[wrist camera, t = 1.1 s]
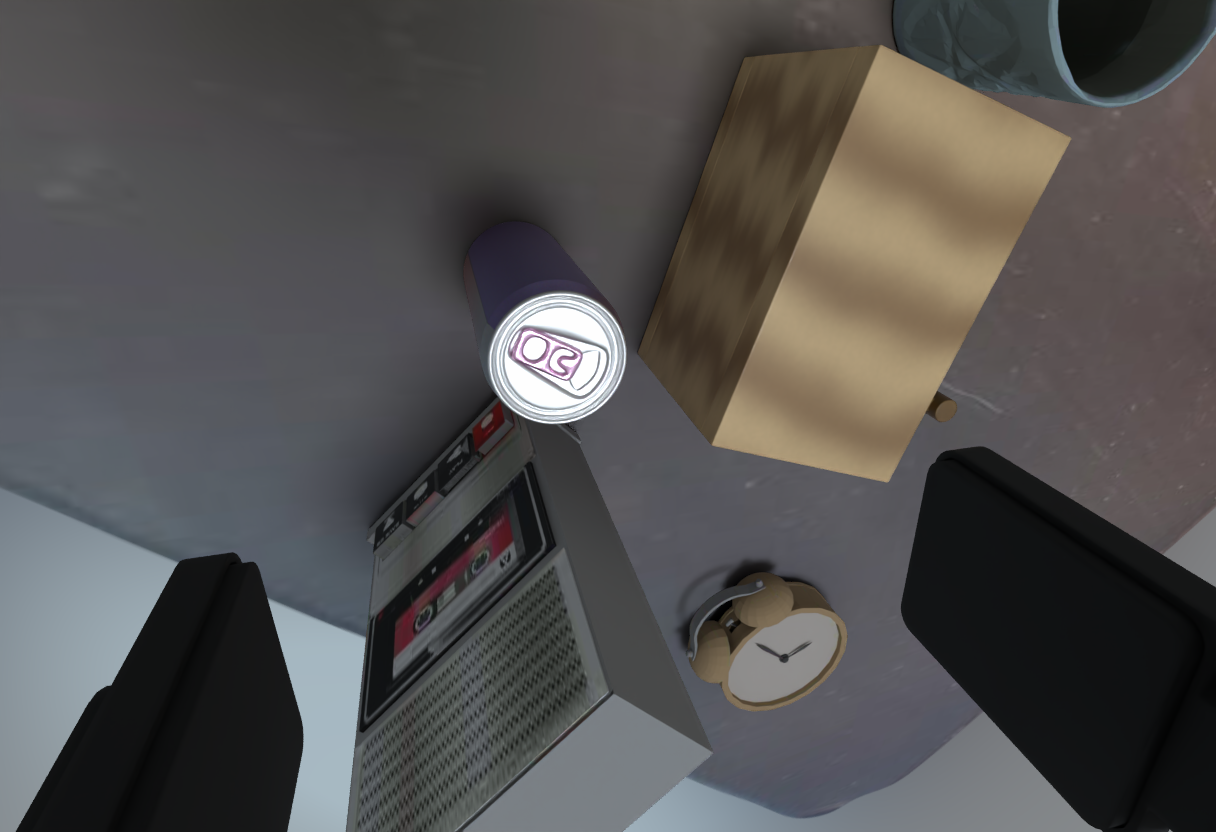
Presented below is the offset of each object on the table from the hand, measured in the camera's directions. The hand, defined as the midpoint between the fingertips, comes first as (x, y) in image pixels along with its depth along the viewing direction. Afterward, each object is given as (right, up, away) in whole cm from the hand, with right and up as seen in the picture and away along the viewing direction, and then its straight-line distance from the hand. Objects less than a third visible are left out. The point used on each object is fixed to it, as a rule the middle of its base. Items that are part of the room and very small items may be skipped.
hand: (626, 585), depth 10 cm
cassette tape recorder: (-9, -2, +36) cm, 37 cm away
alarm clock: (+12, -15, +48) cm, 51 cm away
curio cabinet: (+10, +13, +34) cm, 38 cm away
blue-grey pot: (+20, +26, +30) cm, 45 cm away
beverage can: (-6, +11, +31) cm, 33 cm away
